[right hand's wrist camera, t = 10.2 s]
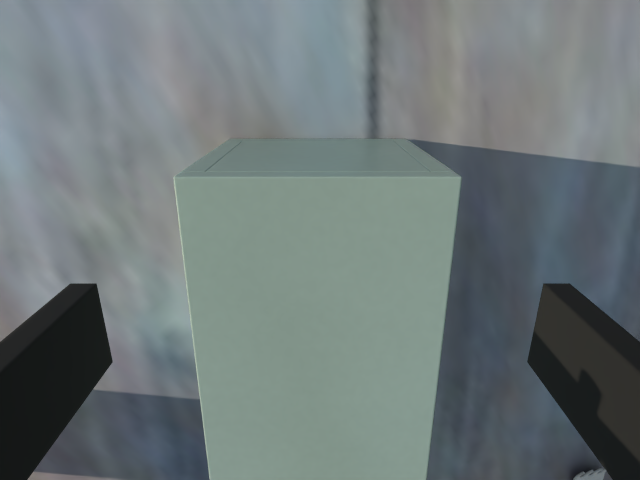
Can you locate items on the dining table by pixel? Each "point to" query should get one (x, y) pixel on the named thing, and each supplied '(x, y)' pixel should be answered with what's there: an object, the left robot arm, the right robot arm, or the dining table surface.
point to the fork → (591, 475)
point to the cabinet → (317, 304)
